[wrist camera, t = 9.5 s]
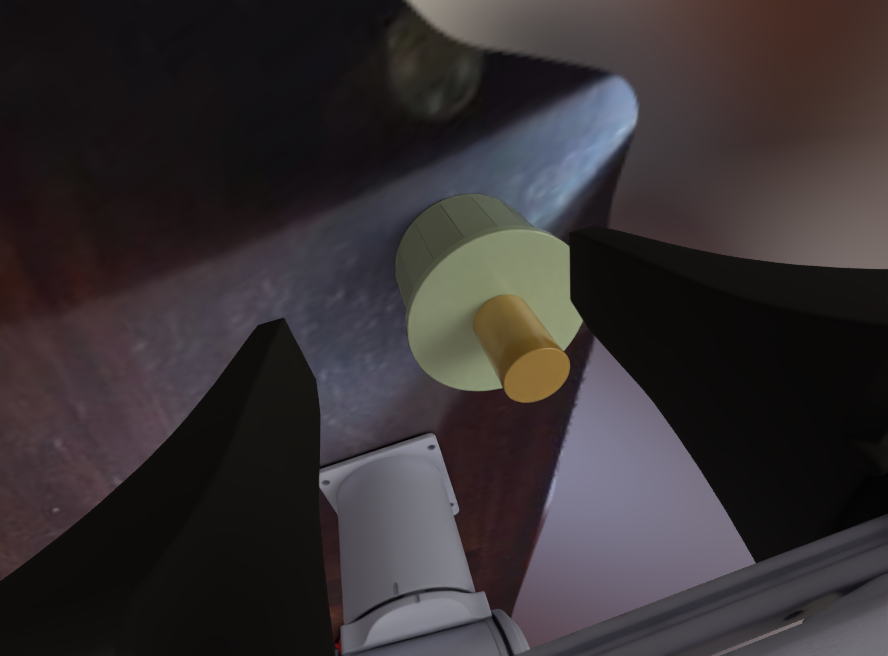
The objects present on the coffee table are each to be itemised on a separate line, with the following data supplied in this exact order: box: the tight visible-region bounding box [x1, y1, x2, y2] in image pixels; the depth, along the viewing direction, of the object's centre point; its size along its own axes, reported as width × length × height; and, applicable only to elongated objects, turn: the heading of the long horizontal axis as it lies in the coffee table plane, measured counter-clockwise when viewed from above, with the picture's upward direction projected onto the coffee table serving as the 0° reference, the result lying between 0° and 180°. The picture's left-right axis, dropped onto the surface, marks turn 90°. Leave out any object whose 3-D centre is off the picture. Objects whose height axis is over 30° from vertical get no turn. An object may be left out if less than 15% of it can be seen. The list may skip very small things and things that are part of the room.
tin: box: [395, 194, 534, 311], centre depth 20 cm, size 7×7×5 cm
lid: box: [406, 225, 583, 403], centre depth 17 cm, size 8×8×5 cm
